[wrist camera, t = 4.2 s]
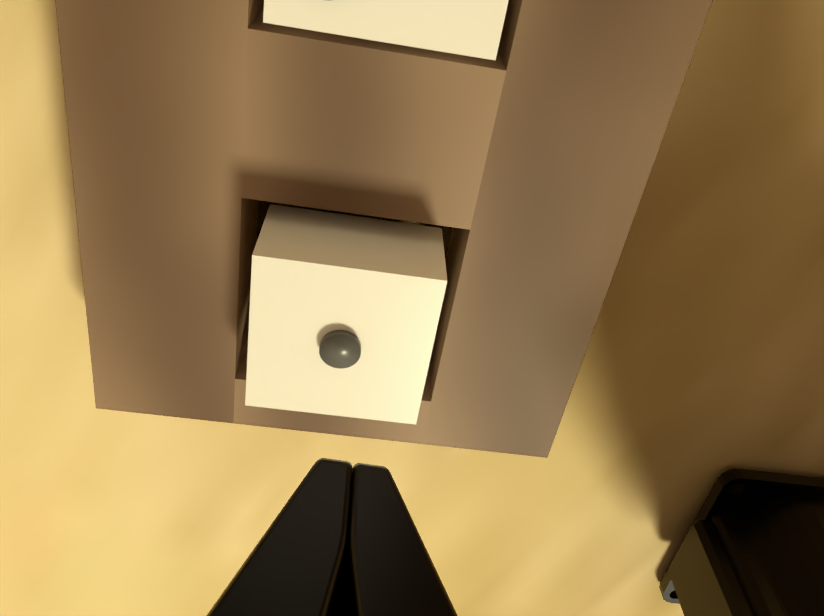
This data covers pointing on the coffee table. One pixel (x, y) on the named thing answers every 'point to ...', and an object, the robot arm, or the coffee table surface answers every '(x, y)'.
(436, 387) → the button panel
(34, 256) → the coffee table surface
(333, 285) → the button one
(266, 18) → the button two
